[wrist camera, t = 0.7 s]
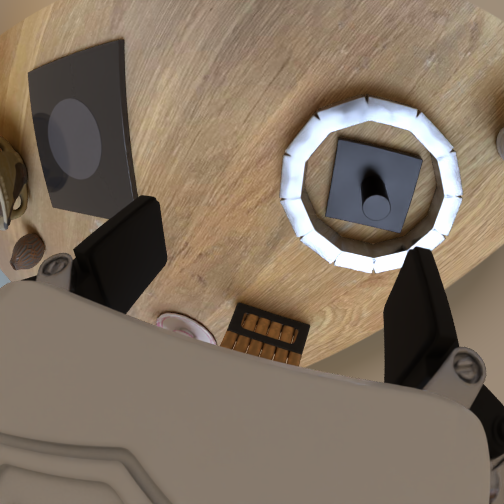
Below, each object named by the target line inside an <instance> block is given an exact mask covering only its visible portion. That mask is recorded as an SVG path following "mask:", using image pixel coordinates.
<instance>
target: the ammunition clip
mask: <svg viewBox="0 0 504 504" xmlns="http://www.w3.org/2000/svg"><path fill="white" fill-rule="evenodd" d="M244 321H245V322H244ZM243 324H244V325H243ZM256 325H257V326H256ZM242 326H243V327H242ZM255 328H256V329H255ZM309 328H310V325H307V324H304V323H301V322H298V321H294V320H291V319H288V318H285V317H282V316H279V315H276V314H272V313H269V312H266V311H263V310H260V309H257V308H254V307H251V306H248V305H245V304H242V303H237V306H236V309H235V311H234V314H233V316H232V319H231V322H230V324H229V327H228V329H227V332H226V334H225V336H224V338H223V340H222V343H221V345H220V346H221V347H224V348H228V349H231V350H232V349H233V347H234V349H233V350H235V351H239V352H242V353H246V351H247V353H246V354H250V355H254V356H257V357H259V355H260V357H261V358H265V359H269V360H272V359H273V356H274V354H275V356H274V359H273V361H277V362H281V363H286V360H287V358H288V360H287V364H290V365H294V366H299V364H300V360H301V356H302V352H303V349H304V346H305V342H306V339H307V335H308V332H309ZM268 329H269V331H268ZM254 330H255V332H254ZM267 332H268V334H267ZM280 333H281V336H280ZM266 335H267V336H266ZM293 336H294V337H293ZM279 337H280V339H279ZM292 338H293V341H292ZM236 341H237V342H236ZM235 342H236V344H235ZM291 342H292V344H291ZM234 344H235V346H234ZM248 346H249V348H248ZM247 348H248V350H247ZM261 349H262V351H261ZM260 352H261V354H260Z"/></svg>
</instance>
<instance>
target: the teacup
mask: <svg viewBox="0 0 504 504" xmlns="http://www.w3.org/2000/svg"><path fill="white" fill-rule="evenodd" d="M157 326H159V327H162V328H164V329H167V330H170V331H173V332H176V333H179V334H182V335H185V336H188V337H192V338H195V339H198V340H201V341H204V342H208V343H211V344H214V345H216V341H215V340H214V338H213V336H212V335H211V334H210V333H209V332H208V331H207V330H206V329H205V328H204V327H203V326H202V325H200V324H199V323H197V322H196V321H194V320H192V319H190V318H188V317H186V316H183V315H180V314H176V313H165V314H161V315H160V316H159V318H158V319H157Z"/></svg>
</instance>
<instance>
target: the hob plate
mask: <svg viewBox="0 0 504 504" xmlns="http://www.w3.org/2000/svg"><path fill="white" fill-rule="evenodd" d="M28 81H29V92H30V102H31V110H32V117H33V124H34V130H35V136H36V141H37V146H38V151H39V156H40V161H41V165H42V169H43V173H44V177H45V181H46V185H47V189H48V193H49V196H50V200H51V203H52V206H53V208H58V209H63V210H68V211H72V212H77V213H82V214H87V215H92V216H96V217H101V218H106V219H110V218H112V217H113V216H114V215H115V214H117V213H118V212H119V211H121V210H122V209H123V208H124V207H126V206H127V205H128V204H130V203H131V202H132V201H134V200H135V199H136V198H138V195H137V189H136V183H135V176H134V169H133V161H132V154H131V145H130V136H129V126H128V116H127V103H126V87H125V64H124V40H116V41H112V42H109V43H105V44H102V45H98V46H95V47H92V48H89V49H86V50H83V51H80V52H77V53H74V54H71V55H69V56H66V57H63V58H61V59H58V60H56V61H53V62H51V63H48V64H46V65H44V66H41V67H39V68H37V69H35V70H32V71H30V72H28Z"/></svg>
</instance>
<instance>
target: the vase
mask: <svg viewBox="0 0 504 504" xmlns="http://www.w3.org/2000/svg"><path fill="white" fill-rule="evenodd" d="M43 254H44V244H43V242H42V240H41V239H40V238H39V236H37V235H35V234H27V235H25V236H23V237H22V238H20V239H19V240H18V241H17V243H16V244H15V246H14V249H13V253H12V258H11V260H10V264H11V266H12V267H13V269H14V270H19V269H30V268H32V267H34V266H35V265H37V264H38V263H39V262H40V260H41V259H42V257H43Z"/></svg>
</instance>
